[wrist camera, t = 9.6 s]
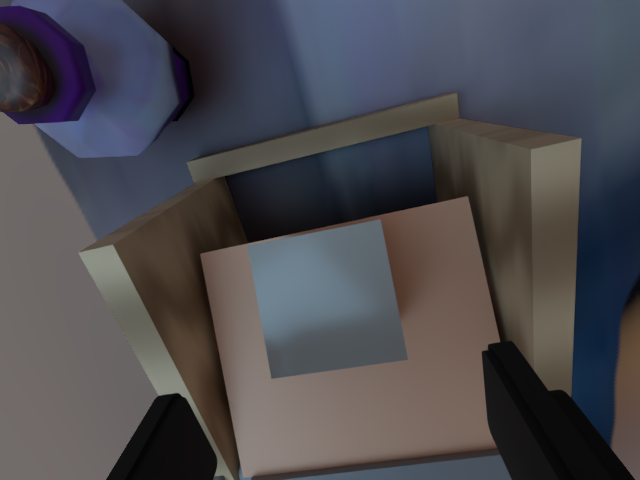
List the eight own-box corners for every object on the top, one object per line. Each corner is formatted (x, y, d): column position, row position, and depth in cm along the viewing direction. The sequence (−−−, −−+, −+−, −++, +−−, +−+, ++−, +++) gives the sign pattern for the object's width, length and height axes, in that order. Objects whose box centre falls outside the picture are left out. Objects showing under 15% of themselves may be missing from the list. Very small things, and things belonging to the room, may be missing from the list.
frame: (475, 377, 32) (567, 565, 19) (289, 404, 34) (261, 586, 21) (447, 93, 22) (590, 86, 10) (197, 157, 25) (51, 219, 12)
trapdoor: (522, 514, 19) (562, 585, 15) (279, 536, 21) (258, 604, 17) (453, 203, 20) (475, 193, 16) (223, 252, 22) (192, 254, 18)
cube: (377, 225, 17) (380, 219, 12) (396, 325, 17) (408, 359, 12) (281, 244, 18) (247, 245, 13) (298, 340, 17) (271, 378, 12)
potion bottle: (63, 46, 23) (-200, -3, 11) (169, -23, 21) (-22, -160, 10) (141, 165, 25) (-10, 218, 14) (240, 113, 24) (155, 127, 13)
